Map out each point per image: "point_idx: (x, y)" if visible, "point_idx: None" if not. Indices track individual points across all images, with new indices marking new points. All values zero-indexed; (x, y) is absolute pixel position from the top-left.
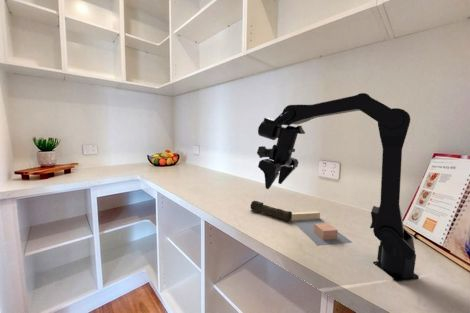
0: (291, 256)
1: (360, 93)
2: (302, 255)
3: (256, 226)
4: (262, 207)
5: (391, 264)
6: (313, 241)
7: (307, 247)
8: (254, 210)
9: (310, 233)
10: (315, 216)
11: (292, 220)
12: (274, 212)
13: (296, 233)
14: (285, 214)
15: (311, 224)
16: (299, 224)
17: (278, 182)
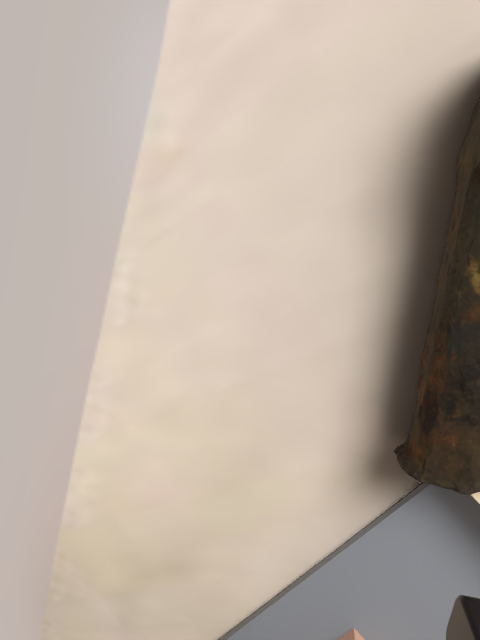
0: (61, 547)
1: None
2: (97, 589)
3: (222, 272)
4: (467, 200)
5: None
6: (235, 632)
7: (177, 602)
8: (475, 109)
9: (321, 611)
10: None
11: None
12: (433, 341)
13: (290, 527)
14: (421, 450)
15: None
16: (416, 531)
17: (462, 608)
